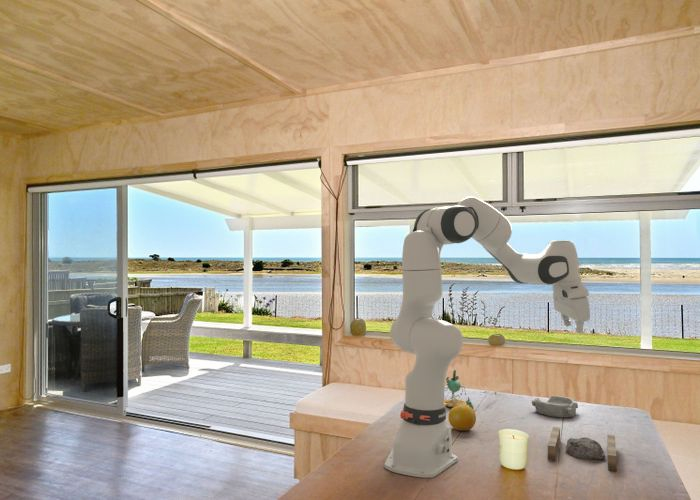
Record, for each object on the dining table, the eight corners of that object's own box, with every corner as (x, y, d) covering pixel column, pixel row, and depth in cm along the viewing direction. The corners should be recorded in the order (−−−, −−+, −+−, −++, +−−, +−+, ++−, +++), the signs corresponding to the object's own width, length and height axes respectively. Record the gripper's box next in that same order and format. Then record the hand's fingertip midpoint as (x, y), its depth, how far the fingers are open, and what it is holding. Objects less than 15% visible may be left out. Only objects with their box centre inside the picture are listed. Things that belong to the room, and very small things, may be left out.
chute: (616, 471, 132) (616, 456, 132) (547, 459, 140) (547, 445, 140) (615, 449, 148) (614, 435, 149) (553, 439, 156) (553, 426, 156)
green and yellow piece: (458, 414, 182) (455, 372, 184) (432, 406, 198) (430, 368, 200) (480, 411, 186) (477, 370, 187) (453, 404, 202) (450, 366, 204)
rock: (576, 445, 151) (576, 432, 151) (611, 458, 142) (611, 443, 142) (557, 451, 147) (557, 437, 147) (592, 464, 137) (592, 449, 138)
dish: (528, 412, 186) (528, 398, 186) (547, 405, 194) (547, 392, 195) (566, 422, 174) (566, 407, 175) (584, 414, 183) (584, 400, 183)
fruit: (447, 432, 162) (447, 407, 163) (449, 424, 170) (449, 400, 170) (475, 435, 160) (475, 410, 160) (476, 427, 167) (476, 403, 168)
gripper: (546, 284, 175) (552, 323, 176) (570, 294, 154) (576, 338, 155) (564, 281, 174) (570, 320, 175) (591, 291, 154) (597, 335, 155)
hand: (573, 329), depth 165 cm, fingers open, 8 cm apart
